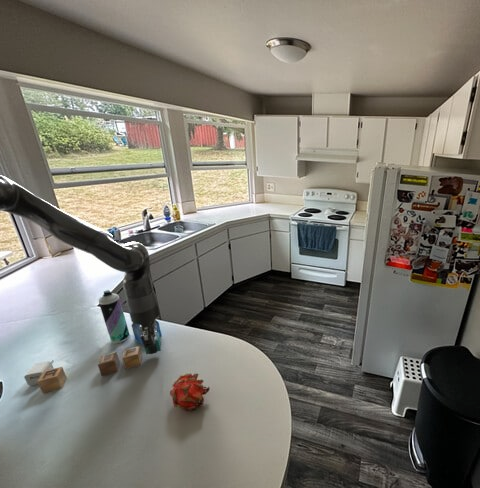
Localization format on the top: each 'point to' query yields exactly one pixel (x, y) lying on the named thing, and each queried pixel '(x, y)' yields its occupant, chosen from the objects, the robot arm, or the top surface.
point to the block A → (52, 379)
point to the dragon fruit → (188, 392)
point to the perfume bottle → (138, 334)
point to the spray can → (114, 317)
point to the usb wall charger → (37, 372)
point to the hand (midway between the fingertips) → (153, 348)
